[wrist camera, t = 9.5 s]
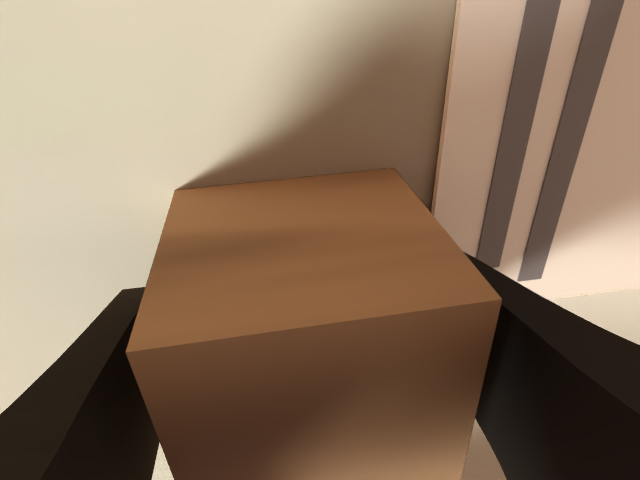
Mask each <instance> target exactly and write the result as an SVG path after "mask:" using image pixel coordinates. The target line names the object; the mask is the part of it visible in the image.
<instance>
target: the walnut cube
mask: <svg viewBox="0 0 640 480" xmlns="http://www.w3.org/2000/svg"><path fill="white" fill-rule="evenodd" d="M501 302H502V298H501V297H500V296H499V295H498V293H497V292H496V291H495V290H494V289H493V287H492V286H491V285H490V284H489V283H488V281H487V280H486V279H485V278H484V277H483V275H482V274H481V273H480V272H479V270H478V269H477V268H476V267H475V266H474V264H473V263H472V262H471V261H470V260H469V258H468V257H467V256H466V255H465V254H464V252H463V251H462V250H461V249H460V247H459V246H458V245H457V244H456V243H455V241H454V240H453V239H452V238H451V237H450V235H449V234H448V233H447V232H446V231H445V229H444V228H443V227H442V226H441V224H440V223H439V222H438V221H437V220H436V218H435V217H434V216H433V215H432V214H431V212H430V211H429V210H428V209H427V208H426V206H425V205H424V204H423V203H422V201H421V200H420V199H419V198H418V197H417V195H416V194H415V193H414V192H413V191H412V189H411V188H410V187H409V186H408V185H407V183H406V182H405V181H404V180H403V178H402V177H401V176H400V175H399V174H398V172H397V171H396V170H395V169H394V168H389V169H379V170H370V171H360V172H350V173H340V174H330V175H320V176H310V177H300V178H290V179H281V180H271V181H261V182H251V183H241V184H231V185H221V186H211V187H202V188H192V189H182V190H175V192H174V195H173V198H172V202H171V205H170V208H169V211H168V215H167V218H166V221H165V225H164V228H163V231H162V234H161V238H160V241H159V244H158V248H157V251H156V254H155V257H154V261H153V264H152V267H151V271H150V274H149V277H148V280H147V284H146V287H145V290H144V294H143V297H142V300H141V303H140V307H139V310H138V313H137V316H136V320H135V323H134V326H133V330H132V333H131V336H130V339H129V343H128V346H127V349H126V355H127V357H128V360H129V363H130V365H131V368H132V371H133V373H134V376H135V378H136V381H137V384H138V386H139V389H140V391H141V394H142V397H143V399H144V402H145V405H146V407H147V410H148V412H149V415H150V418H151V420H152V423H153V425H154V428H155V431H156V433H157V436H158V439H159V441H160V444H161V446H162V449H163V452H164V454H165V457H166V459H167V462H168V465H169V467H170V470H171V473H172V475H173V478H174V480H461V477H462V472H463V468H464V464H465V459H466V455H467V450H468V446H469V442H470V437H471V433H472V429H473V424H474V420H475V416H476V411H477V407H478V403H479V398H480V394H481V390H482V385H483V381H484V376H485V372H486V368H487V363H488V359H489V355H490V350H491V346H492V342H493V337H494V333H495V329H496V324H497V320H498V315H499V311H500V307H501Z"/></svg>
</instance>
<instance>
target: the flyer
mask: <svg viewBox="0 0 640 480" xmlns="http://www.w3.org/2000/svg"><path fill="white" fill-rule="evenodd" d="M431 214H432V215H433V216H434V217H435V218H436V220H437V221H438V222H439V223H440V224H441V226H442V227H443V228H444V229H445V231H446V232H447V233H448V234H449V235H450V237H451V238H452V239H453V240H454V241H455V243H456V244H457V245H458V246H459V247H460V249H461V250H462V251H463V252H465V253H467V254H469V255H471V256H473V257H475V258H476V259H478V260H480V261H482V262H483V263H485V264H487V265H489V266H490V267H492V268H494V269H496V270H497V271H499V272H501V273H502V274H504V275H506V276H507V277H509V278H511V279H512V280H514V281H516V282H518V283H519V284H521V285H523V286H524V287H526V288H528V289H530V290H531V291H533V292H535V293H537V294H538V295H540V296H542V297H544V298H546V299H547V300H552V299H559V298H567V297H575V296H582V295H590V294H597V293H605V292H612V291H620V290H628V289H635V288H640V0H457V5H456V13H455V21H454V30H453V38H452V46H451V54H450V62H449V70H448V79H447V87H446V95H445V103H444V111H443V119H442V127H441V136H440V144H439V152H438V160H437V168H436V176H435V185H434V193H433V201H432V209H431Z"/></svg>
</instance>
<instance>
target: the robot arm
mask: <svg viewBox="0 0 640 480" xmlns="http://www.w3.org/2000/svg"><path fill="white" fill-rule="evenodd" d="M464 254H465V255H466V256H467V257H468V258H469V260H470V261H471V262H472V263H473V264H474V266H475V267H476V268H477V269H478V270H479V272H480V273H481V274H482V275H483V277H484V278H485V279H486V280H487V281H488V283H489V284H490V285H491V286H492V287H493V289H494V290H495V291H496V292H497V293H498V295H499V296H500V297H501V298H502V302H501V307H500V311H499V315H498V320H497V324H496V329H495V333H494V337H493V342H492V346H491V350H490V355H489V359H488V363H487V368H486V372H485V376H484V381H483V385H482V390H481V394H480V398H479V403H478V407H477V411H476V416H475V418H476V420H477V422H478V424H479V426H480V427H481V429H482V431H483V433H484V434H485V436H486V438H487V440H488V442H489V443H490V445H491V447H492V449H493V451H494V453H495V455H496V457H497V459H498V461H499V463H500V465H501V467H502V469H503V472H504V474H505V476H506V479H507V480H640V345H638V344H636V343H633V342H631V341H629V340H627V339H624V338H622V337H620V336H618V335H615V334H613V333H611V332H609V331H607V330H605V329H603V328H601V327H599V326H597V325H595V324H593V323H591V322H589V321H587V320H585V319H583V318H581V317H579V316H577V315H575V314H573V313H571V312H569V311H567V310H566V309H564V308H562V307H560V306H558V305H556V304H555V303H553V302H551V301H549V300H547V299H546V298H544V297H542V296H540V295H538V294H537V293H535V292H533V291H531V290H530V289H528V288H526V287H524V286H523V285H521V284H519V283H518V282H516V281H514V280H512V279H511V278H509V277H507V276H506V275H504V274H502V273H501V272H499V271H497V270H496V269H494V268H492V267H490V266H489V265H487V264H485V263H483V262H482V261H480V260H478V259H476V258H475V257H473V256H471V255H469V254H467V253H465V252H464ZM144 290H145V287H141V288H132V289H123V290H122V291H121V292H120V293H119V294H118V295H117V296H116V297H115V298H114V299H113V300H112V301H111V302H110V304H109V305H108V306H107V307H106V308H105V309H104V310H103V311H102V312H101V313H100V315H99V316H98V317H97V318H96V319H95V320H94V321H93V322H92V323H91V324H90V325H89V327H88V328H87V329H86V330H85V331H84V332H83V333H82V334H81V335H80V336H79V337H78V338H77V339H76V340H75V342H74V343H73V344H72V345H71V346H70V347H69V348H68V349H67V350H66V351H65V352H64V353H63V354H62V355H61V356H60V357H59V358H58V359H57V360H56V362H55V363H53V364H52V365H51V366H50V367H49V368H48V369H47V370H46V371H45V372H44V373H43V374H42V375H41V376H40V377H39V378H38V379H37V380H36V381H35V382H34V383H33V384H32V385H31V386H30V387H29V388H28V389H27V390H26V391H25V392H24V393H23V394H22V395H21V396H20V397H18V398H17V399H16V400H15V401H14V402H13V403H12V404H11V405H10V406H9V407H8V408H7V409H6V410H5V411H4V412H2V413H1V414H0V480H151V479H152V474H153V470H154V465H155V460H156V456H157V451H158V446H159V442H160V441H159V439H158V436H157V433H156V431H155V428H154V425H153V423H152V420H151V418H150V415H149V412H148V410H147V407H146V405H145V402H144V399H143V397H142V394H141V391H140V389H139V386H138V384H137V381H136V378H135V376H134V373H133V371H132V368H131V365H130V363H129V360H128V357H127V355H126V349H127V346H128V343H129V339H130V336H131V333H132V330H133V326H134V323H135V320H136V316H137V313H138V310H139V307H140V303H141V300H142V297H143V294H144Z"/></svg>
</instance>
